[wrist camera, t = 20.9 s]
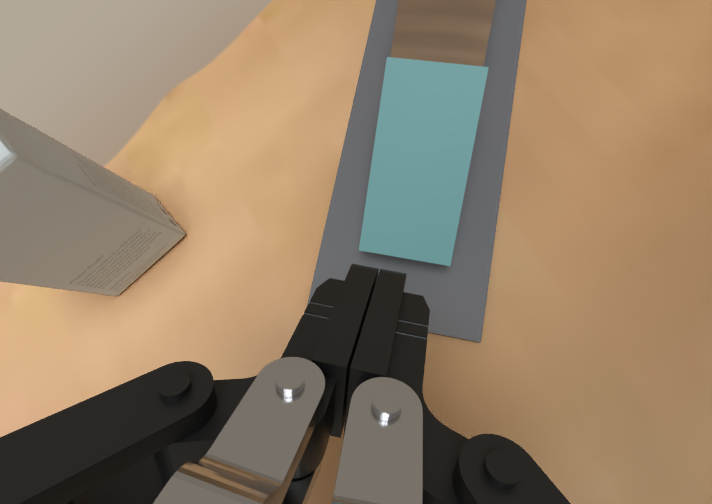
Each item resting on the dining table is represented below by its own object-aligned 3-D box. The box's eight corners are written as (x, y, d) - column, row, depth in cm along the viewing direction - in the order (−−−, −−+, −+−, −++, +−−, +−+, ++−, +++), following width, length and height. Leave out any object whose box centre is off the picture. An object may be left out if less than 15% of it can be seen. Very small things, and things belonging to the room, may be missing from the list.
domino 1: (462, 177, 22) (499, -21, 20) (374, 164, 23) (402, -28, 21) (459, 177, 24) (493, -3, 22) (378, 166, 25) (404, -10, 23)
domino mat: (478, 342, 22) (480, 342, 22) (308, 308, 24) (306, 307, 23) (529, -34, 28) (531, -40, 27) (387, -43, 29) (387, -49, 29)
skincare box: (152, 192, 27) (-39, 73, 15) (191, 238, 26) (19, 147, 14) (81, 255, 26) (-175, 183, 15) (118, 304, 25) (-126, 268, 14)
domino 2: (450, 266, 21) (488, 67, 19) (358, 250, 22) (387, 56, 20) (448, 259, 23) (483, 77, 21) (364, 244, 24) (390, 67, 22)
